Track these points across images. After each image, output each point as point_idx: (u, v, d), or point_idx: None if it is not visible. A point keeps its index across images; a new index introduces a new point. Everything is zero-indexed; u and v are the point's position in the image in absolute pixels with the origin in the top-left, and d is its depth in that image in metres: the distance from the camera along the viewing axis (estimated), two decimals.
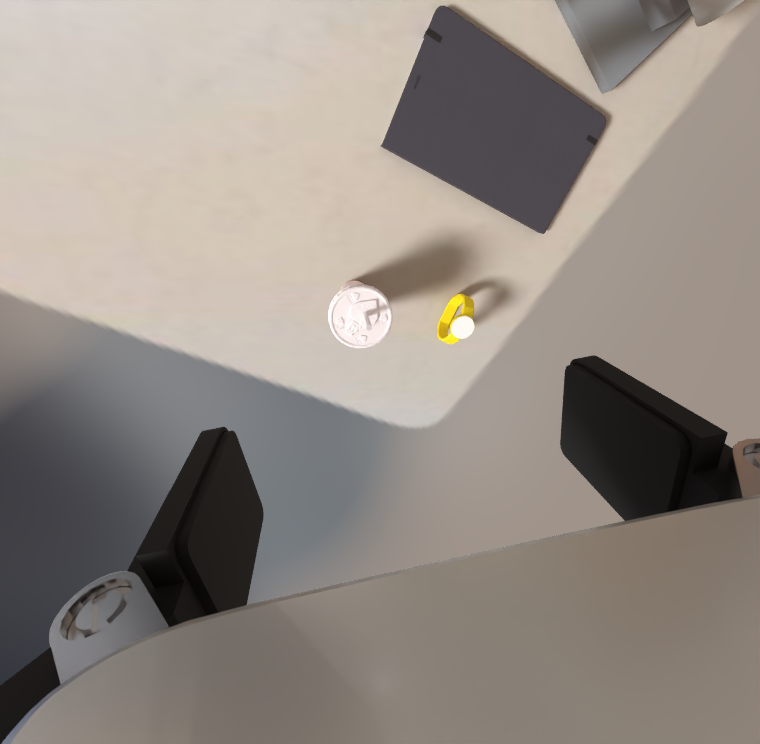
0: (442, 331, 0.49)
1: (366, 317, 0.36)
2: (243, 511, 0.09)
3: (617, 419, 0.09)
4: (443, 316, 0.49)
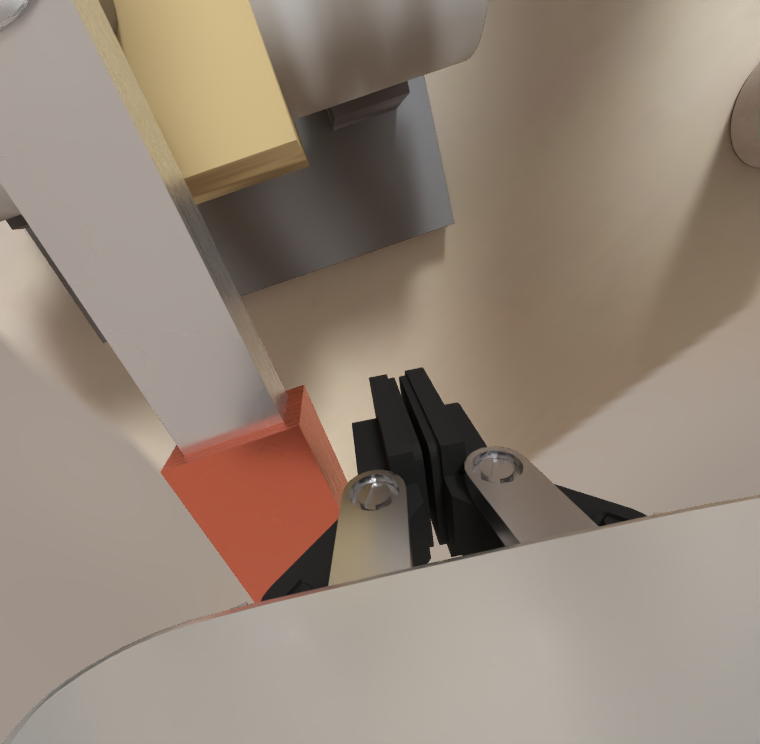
0: None
1: None
2: None
3: (415, 427, 0.10)
4: None
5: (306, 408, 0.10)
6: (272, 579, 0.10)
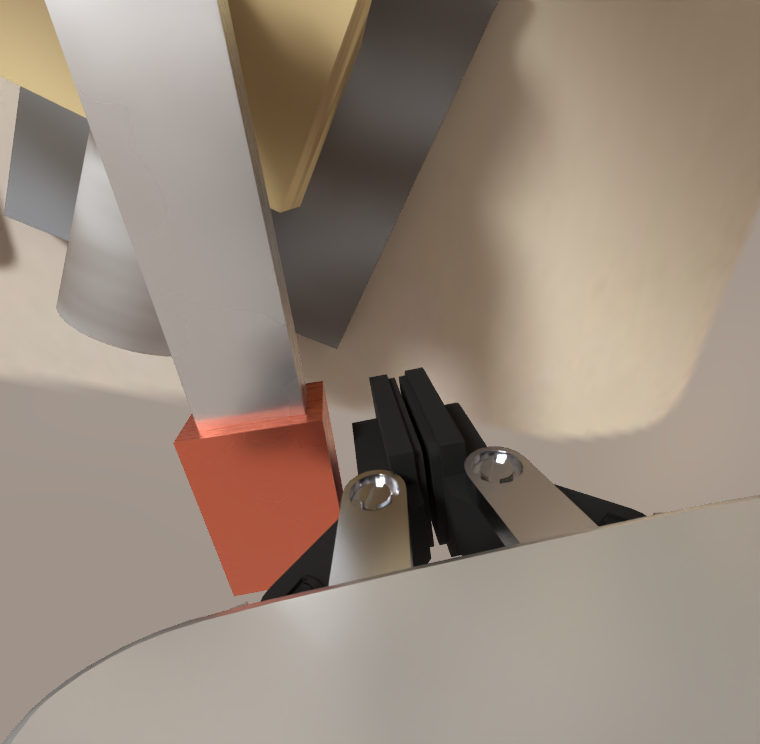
0: None
1: None
2: None
3: (415, 427, 0.10)
4: None
5: (324, 404, 0.10)
6: (255, 569, 0.10)
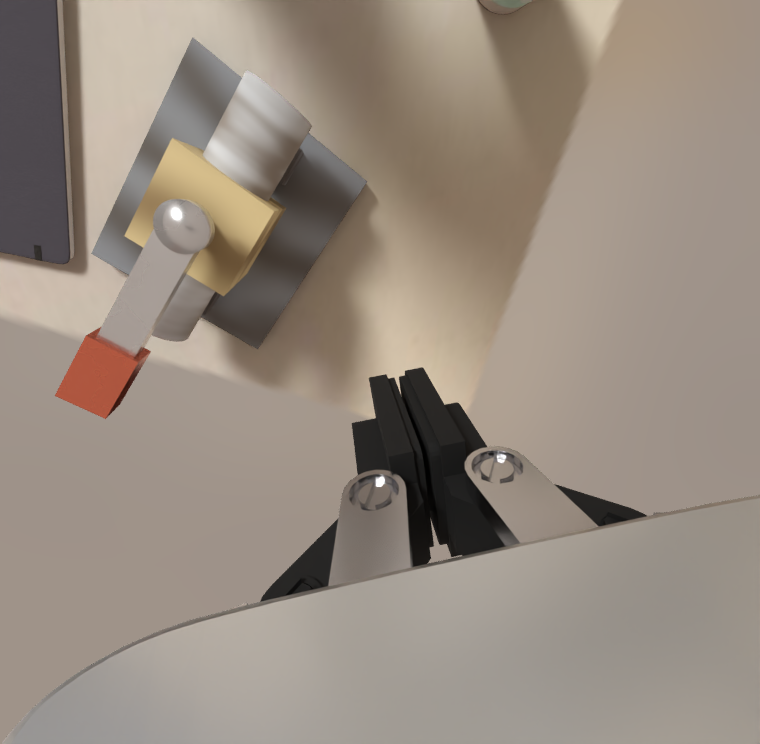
0: None
1: None
2: None
3: (415, 427, 0.10)
4: None
5: (144, 358, 0.26)
6: (72, 391, 0.25)
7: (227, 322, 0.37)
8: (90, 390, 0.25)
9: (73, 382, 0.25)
